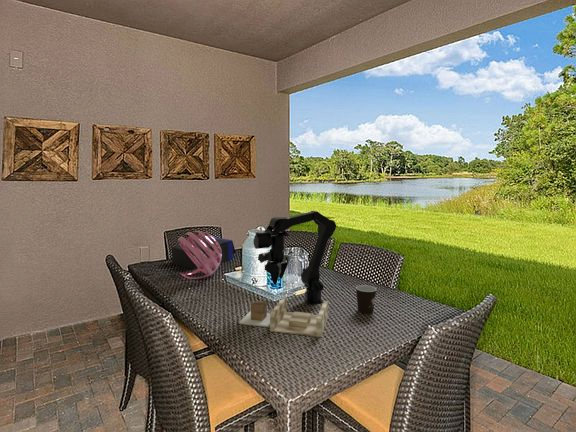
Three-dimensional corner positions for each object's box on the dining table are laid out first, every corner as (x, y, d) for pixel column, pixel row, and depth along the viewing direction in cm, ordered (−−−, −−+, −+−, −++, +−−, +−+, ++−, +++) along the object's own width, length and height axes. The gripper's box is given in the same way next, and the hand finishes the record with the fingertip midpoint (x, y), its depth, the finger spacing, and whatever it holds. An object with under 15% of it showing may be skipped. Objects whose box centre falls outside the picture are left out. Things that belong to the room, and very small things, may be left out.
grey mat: (250, 312, 148) (250, 310, 148) (277, 315, 145) (277, 313, 145) (239, 323, 136) (239, 322, 136) (268, 327, 133) (268, 325, 133)
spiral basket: (162, 250, 179) (204, 218, 190) (160, 252, 205) (196, 224, 215) (197, 291, 183) (235, 257, 194) (190, 288, 209) (224, 258, 219)
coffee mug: (364, 316, 143) (364, 293, 142) (351, 309, 151) (351, 287, 150) (385, 311, 149) (386, 288, 148) (371, 304, 156) (372, 283, 155)
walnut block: (255, 314, 143) (255, 300, 143) (266, 316, 142) (266, 302, 141) (250, 319, 139) (250, 305, 138) (262, 321, 137) (262, 306, 137)
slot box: (283, 312, 147) (283, 297, 146) (328, 317, 142) (328, 301, 141) (270, 331, 130) (270, 313, 129) (320, 337, 125) (320, 318, 124)
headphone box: (236, 259, 242) (235, 239, 240) (193, 270, 215) (193, 247, 214) (214, 254, 258) (213, 235, 256) (172, 263, 231) (171, 242, 230)
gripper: (267, 241, 161) (267, 274, 162) (252, 250, 143) (253, 286, 144) (290, 242, 158) (290, 276, 159) (278, 251, 140) (278, 288, 142)
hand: (278, 281), depth 151 cm, fingers open, 9 cm apart
